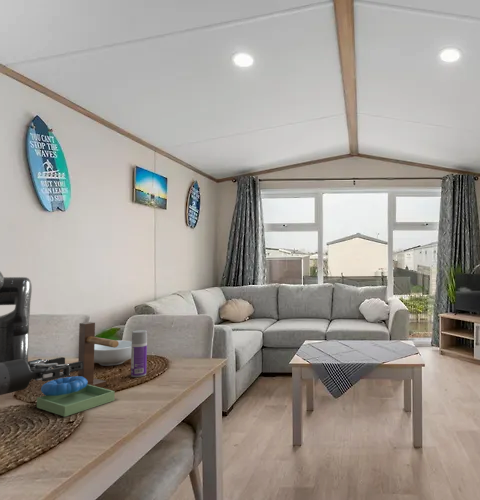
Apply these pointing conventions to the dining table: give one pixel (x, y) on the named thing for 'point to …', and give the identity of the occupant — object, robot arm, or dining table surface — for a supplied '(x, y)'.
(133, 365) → the container
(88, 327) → the rack
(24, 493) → the dining table surface
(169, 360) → the dining table surface
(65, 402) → the tray
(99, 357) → the cereal bowl
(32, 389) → the dining table surface
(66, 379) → the ring
